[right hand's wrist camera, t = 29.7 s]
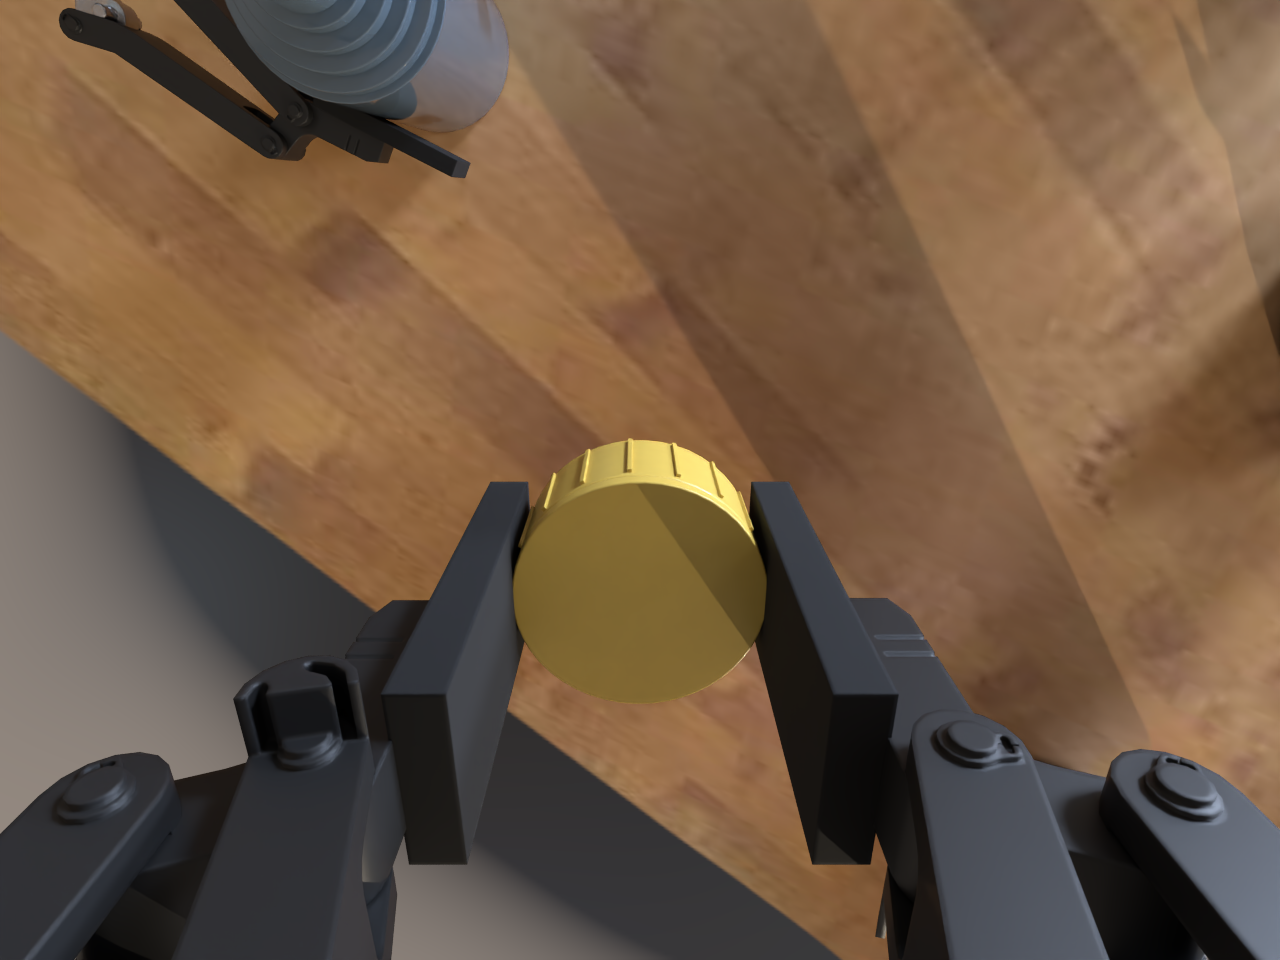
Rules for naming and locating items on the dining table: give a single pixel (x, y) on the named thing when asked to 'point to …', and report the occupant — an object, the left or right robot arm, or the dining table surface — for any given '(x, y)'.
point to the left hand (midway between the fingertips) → (495, 75)
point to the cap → (639, 574)
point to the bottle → (385, 54)
